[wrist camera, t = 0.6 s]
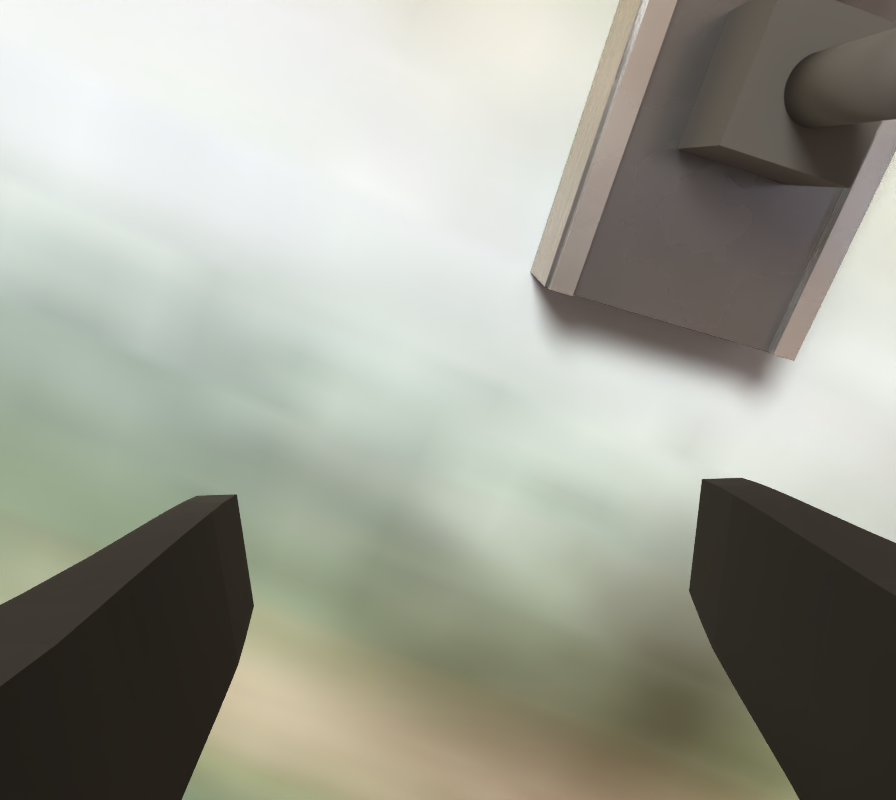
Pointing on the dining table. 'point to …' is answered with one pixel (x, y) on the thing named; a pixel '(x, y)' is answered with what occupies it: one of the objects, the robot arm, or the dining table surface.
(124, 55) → the dining table surface
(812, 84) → the cord plug
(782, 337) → the strip
